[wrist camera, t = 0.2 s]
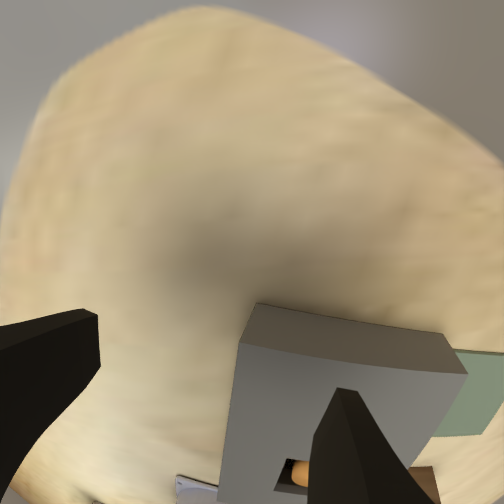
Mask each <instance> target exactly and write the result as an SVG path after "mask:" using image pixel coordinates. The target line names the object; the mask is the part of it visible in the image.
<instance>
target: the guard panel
mask: <svg viewBox="0 0 504 504" xmlns="http://www.w3.org/2000/svg"><path fill="white" fill-rule="evenodd" d="M468 375H469V374H468V372H467V371H466V369H465V367H464V366H463V364H462V363H461V361H460V359H459V358H458V356H457V355H456V353H455V352H454V350H453V349H452V347H451V346H450V344H449V343H448V341H447V340H446V338H445V337H444V335H443V334H438V333H431V332H423V331H416V330H409V329H402V328H395V327H388V326H382V325H375V324H369V323H363V322H357V321H351V320H345V319H339V318H333V317H327V316H322V315H316V314H311V313H305V312H300V311H295V310H289V309H284V308H279V307H274V306H269V305H264V304H259V303H256V305H255V307H254V310H253V312H252V314H251V316H250V319H249V321H248V323H247V325H246V328H245V330H244V332H243V335H242V337H241V339H240V341H239V346H238V353H237V360H236V367H235V374H234V381H233V388H232V395H231V402H230V409H229V416H228V423H227V430H226V437H225V444H224V451H223V458H222V465H221V472H220V479H219V486H218V493H217V500H216V501H219V502H223V503H227V504H307V494H308V487H304V486H301V485H298V484H296V483H295V482H294V481H293V480H292V470H293V469H286V468H283V466H284V464H285V461H286V459H287V458H289V459H295V460H302V461H309V460H310V453H311V447H312V441H313V435H314V433H315V431H316V429H317V427H318V425H319V423H320V421H321V419H322V417H323V415H324V413H325V411H326V409H327V407H328V405H329V403H330V401H331V399H332V397H333V394H334V392H335V390H336V388H337V387H339V388H344V389H350V390H355V391H358V392H359V394H360V396H361V397H362V399H363V401H364V402H365V404H366V406H367V408H368V409H369V411H370V413H371V414H372V416H373V418H374V420H375V421H376V423H377V425H378V426H379V428H380V430H381V431H382V433H383V435H384V436H385V438H386V439H387V441H388V443H389V444H390V446H391V447H392V449H393V450H394V452H395V453H396V455H397V456H398V458H399V459H400V461H401V462H402V463H403V465H404V466H405V468H406V469H407V470H408V468H409V467H410V466H411V465H412V463H413V462H414V461H415V459H416V458H417V457H418V455H419V454H420V453H421V451H422V450H423V448H424V447H425V446H426V444H427V443H428V441H429V440H430V438H431V437H432V436H433V434H434V433H435V431H436V430H437V428H438V426H439V425H440V423H441V422H442V420H443V419H444V417H445V415H446V414H447V412H448V411H449V409H450V407H451V406H452V404H453V402H454V400H455V399H456V397H457V395H458V393H459V392H460V390H461V388H462V386H463V384H464V382H465V381H466V379H467V377H468Z"/></svg>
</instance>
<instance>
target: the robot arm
mask: <svg viewBox="0 0 504 504" xmlns="http://www.w3.org/2000/svg"><path fill="white" fill-rule="evenodd" d="M100 367H101V363H100V350H99V333H98V315H97V314H95V313H92V312H90V311H88V310H85V309H76V310H71V311H66V312H61V313H57V314H53V315H49V316H45V317H41V318H37V319H32V320H28V321H24V322H20V323H15V324H10V325H5V326H0V503H1V500H2V498H3V495H4V493H5V491H6V489H7V487H8V486H9V484H10V482H11V480H12V478H13V476H14V474H15V473H16V471H17V469H18V468H19V466H20V465H21V463H22V461H23V460H24V458H25V457H26V455H27V454H28V452H29V451H30V449H31V448H32V447H33V445H34V444H35V442H36V441H37V440H38V438H39V437H40V436H41V435H42V434H43V432H44V431H45V430H46V429H47V428H48V427H49V426H50V425H51V424H52V423H53V422H54V421H55V420H56V419H57V418H58V417H59V416H60V414H61V413H62V412H63V411H64V410H65V409H66V408H67V407H68V406H69V405H70V404H71V403H72V402H73V401H74V400H75V399H76V398H77V397H78V396H79V395H80V394H81V393H82V391H83V390H84V389H85V388H86V387H87V385H88V384H89V383H90V381H91V380H92V379H93V377H94V376H95V374H96V373H97V371H98V370H99V368H100ZM175 483H176V495H177V501H176V503H175V504H227V503H223V502H219V501H216V500H217V493H218V487H215V486H211V485H208V484H204V483H201V482H197V481H194V480H191V479H188V478H184V477H181V476H176V479H175ZM307 504H435V503H434V502H433V501H432V500H431V498H430V497H429V496H428V495H427V494H426V493H425V492H424V491H423V489H422V488H421V487H420V486H419V485H418V483H417V482H416V481H415V480H414V478H413V477H412V476H411V474H410V473H409V472H408V470H407V469H406V468H405V466H404V465H403V463H402V462H401V461H400V459H399V458H398V456H397V455H396V453H395V452H394V450H393V449H392V447H391V446H390V444H389V443H388V441H387V439H386V438H385V436H384V435H383V433H382V431H381V430H380V428H379V426H378V425H377V423H376V421H375V420H374V418H373V416H372V414H371V413H370V411H369V409H368V408H367V406H366V404H365V402H364V401H363V399H362V397H361V396H360V394H359V392H358V391H355V390H350V389H344V388H339V387H337V388H336V390H335V392H334V394H333V397H332V399H331V401H330V403H329V405H328V407H327V409H326V411H325V413H324V415H323V417H322V419H321V421H320V423H319V425H318V427H317V429H316V431H315V433H314V435H313V441H312V447H311V453H310V460H309V471H308V494H307Z"/></svg>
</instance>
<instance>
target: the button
mask: <svg viewBox="0 0 504 504" xmlns="http://www.w3.org/2000/svg"><path fill="white" fill-rule="evenodd" d="M308 471H309V461H302V460H295V459H294V462H293V470H292V480H293V481H294V482H295V483H296V484H298V485H301V486H304V487H308Z"/></svg>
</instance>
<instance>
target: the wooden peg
mask: <svg viewBox="0 0 504 504" xmlns="http://www.w3.org/2000/svg"><path fill="white" fill-rule="evenodd" d="M408 472H409V473H410V474H411V476H412V477H413V478H414V480H415V481H416V482H417V483H418V485H419V486H420V487H421V488H422V489H423V491H424V492H425V493H426V494H427V495H428V496H429V497H430V498H431V500H432V501H433V502H434V503H435V504H441V501H440V497H439V493H438V488H437V484H436V480H435V476H434V472H433V468H432V466H430V467H409V468H408Z"/></svg>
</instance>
